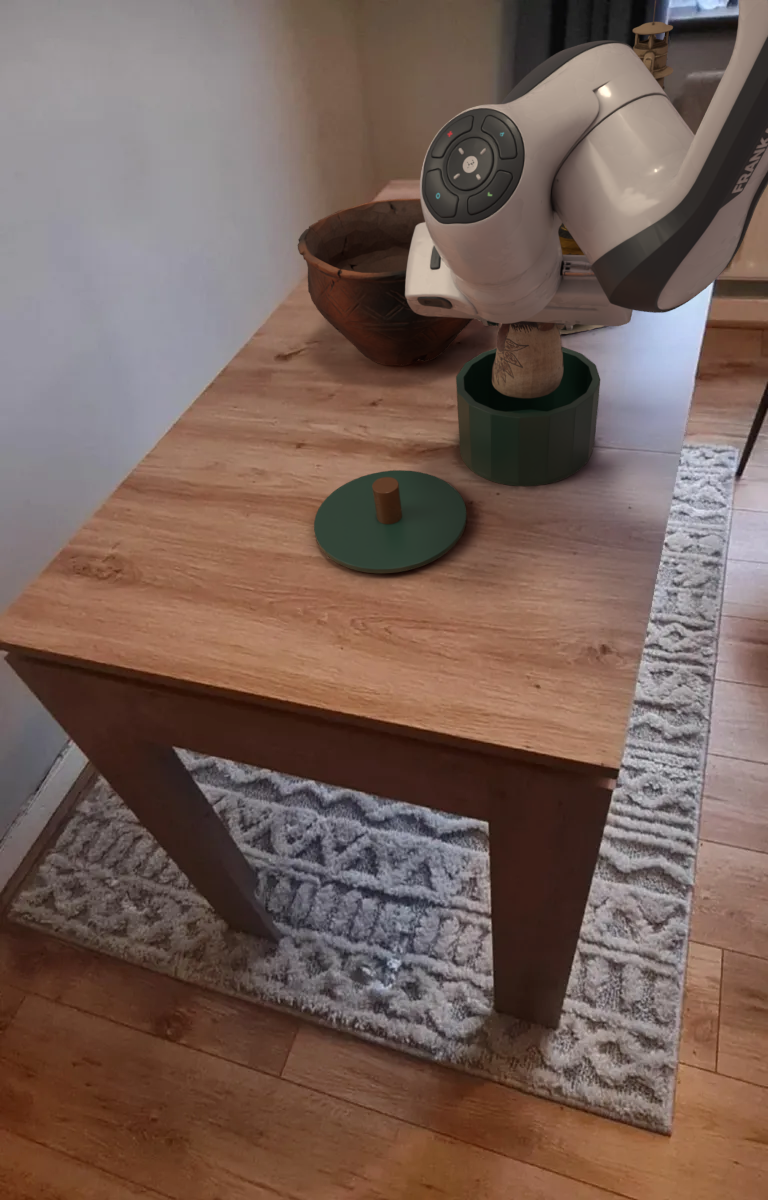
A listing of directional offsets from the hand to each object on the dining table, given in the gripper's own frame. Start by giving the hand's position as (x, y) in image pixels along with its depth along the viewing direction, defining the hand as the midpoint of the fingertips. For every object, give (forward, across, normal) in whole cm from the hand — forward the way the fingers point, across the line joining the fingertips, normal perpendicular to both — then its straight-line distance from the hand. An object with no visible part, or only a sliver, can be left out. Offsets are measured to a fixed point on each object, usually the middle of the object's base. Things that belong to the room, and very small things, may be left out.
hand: (528, 320), depth 79 cm
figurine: (+4, 0, +5) cm, 7 cm away
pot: (+10, 0, +11) cm, 15 cm away
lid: (-2, +11, +22) cm, 24 cm away
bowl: (+25, +20, -4) cm, 33 cm away
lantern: (+52, -5, -32) cm, 61 cm away
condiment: (+32, 0, -11) cm, 33 cm away
